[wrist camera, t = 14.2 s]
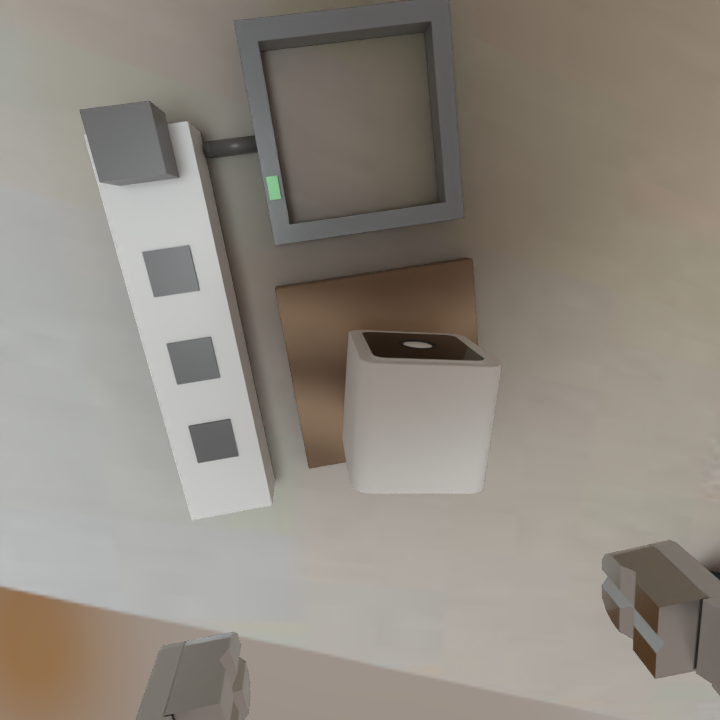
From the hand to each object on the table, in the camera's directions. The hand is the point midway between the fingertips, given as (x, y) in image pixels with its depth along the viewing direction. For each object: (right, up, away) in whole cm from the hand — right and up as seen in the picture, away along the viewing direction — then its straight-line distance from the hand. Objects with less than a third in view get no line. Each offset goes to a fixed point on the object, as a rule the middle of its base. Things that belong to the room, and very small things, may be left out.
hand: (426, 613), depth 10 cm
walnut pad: (0, +5, +21) cm, 22 cm away
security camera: (0, +5, +20) cm, 21 cm away
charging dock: (-2, +19, +17) cm, 25 cm away
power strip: (-9, +8, +19) cm, 23 cm away
